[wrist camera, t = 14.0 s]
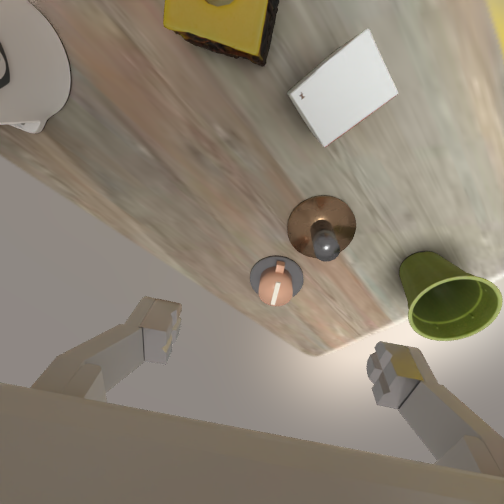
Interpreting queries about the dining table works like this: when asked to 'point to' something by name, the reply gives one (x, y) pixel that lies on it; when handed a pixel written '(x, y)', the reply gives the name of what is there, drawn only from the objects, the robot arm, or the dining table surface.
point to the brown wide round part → (321, 227)
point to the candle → (225, 25)
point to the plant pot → (446, 298)
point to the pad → (271, 262)
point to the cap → (276, 285)
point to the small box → (344, 89)
